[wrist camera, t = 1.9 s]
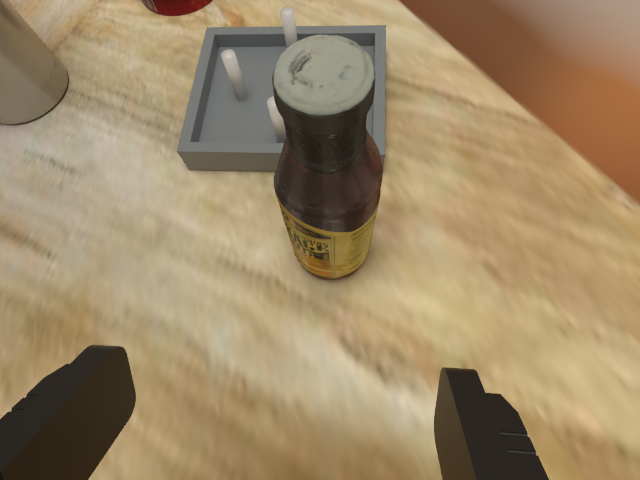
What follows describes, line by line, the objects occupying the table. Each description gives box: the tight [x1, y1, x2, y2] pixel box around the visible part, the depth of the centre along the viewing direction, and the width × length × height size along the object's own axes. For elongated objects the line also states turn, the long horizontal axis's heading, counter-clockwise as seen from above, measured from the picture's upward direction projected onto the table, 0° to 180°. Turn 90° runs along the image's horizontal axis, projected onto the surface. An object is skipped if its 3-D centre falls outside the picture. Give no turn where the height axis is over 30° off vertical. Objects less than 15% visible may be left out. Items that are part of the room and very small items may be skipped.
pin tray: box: [177, 7, 386, 172], centre depth 37 cm, size 18×15×6 cm
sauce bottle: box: [272, 35, 383, 279], centre depth 25 cm, size 6×6×20 cm
